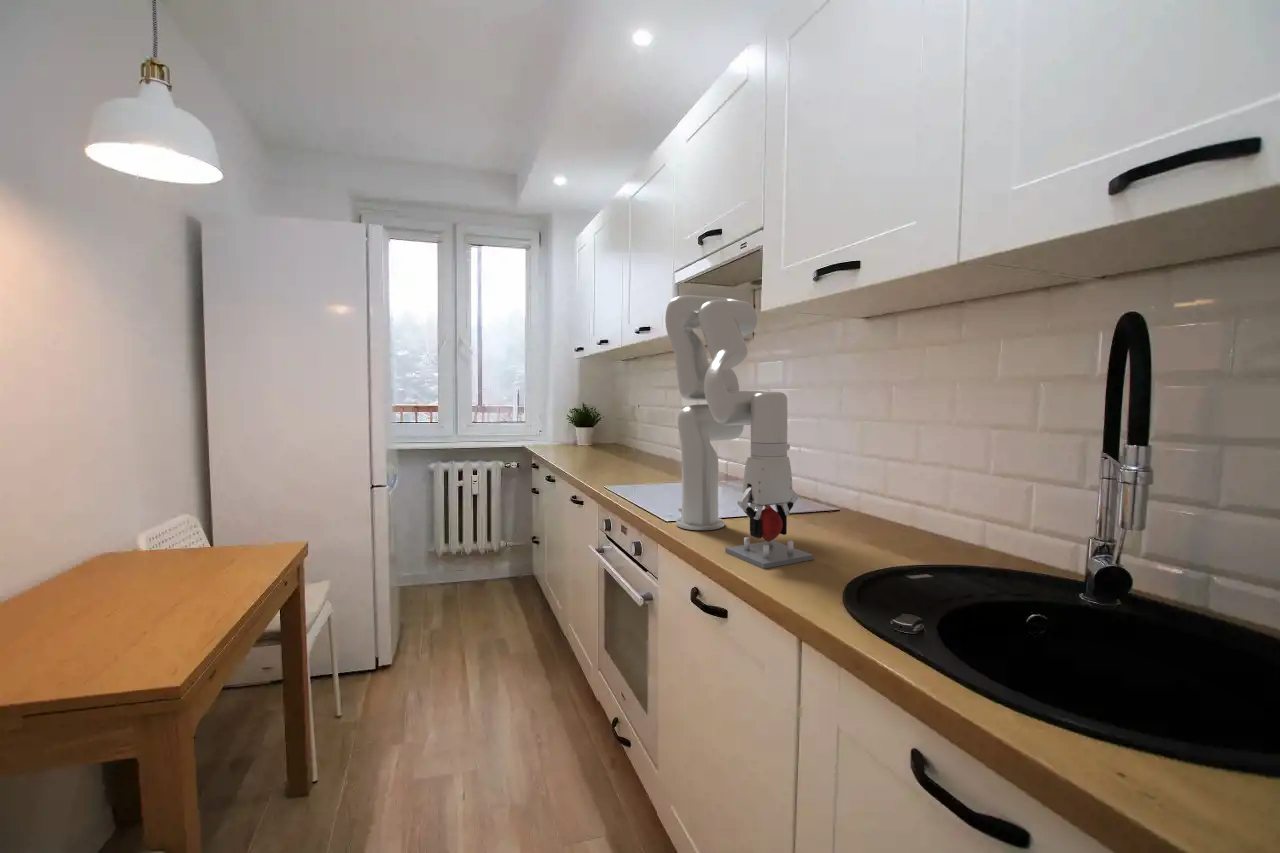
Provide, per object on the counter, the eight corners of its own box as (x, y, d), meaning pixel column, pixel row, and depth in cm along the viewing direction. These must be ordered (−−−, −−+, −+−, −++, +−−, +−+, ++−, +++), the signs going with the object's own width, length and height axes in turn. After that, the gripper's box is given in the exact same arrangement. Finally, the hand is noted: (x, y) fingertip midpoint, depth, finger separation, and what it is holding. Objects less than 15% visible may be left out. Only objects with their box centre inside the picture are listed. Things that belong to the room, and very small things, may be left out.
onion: (770, 536, 123) (770, 500, 123) (788, 543, 118) (788, 505, 118) (749, 540, 121) (749, 503, 120) (766, 546, 116) (766, 508, 115)
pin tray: (725, 552, 123) (725, 536, 122) (772, 544, 128) (772, 529, 128) (763, 568, 111) (763, 551, 111) (813, 559, 117) (813, 543, 117)
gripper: (788, 447, 126) (787, 526, 127) (724, 451, 118) (724, 536, 119) (812, 450, 119) (811, 534, 120) (746, 454, 111) (746, 544, 112)
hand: (768, 534), depth 119 cm, fingers closed on onion, 5 cm apart
